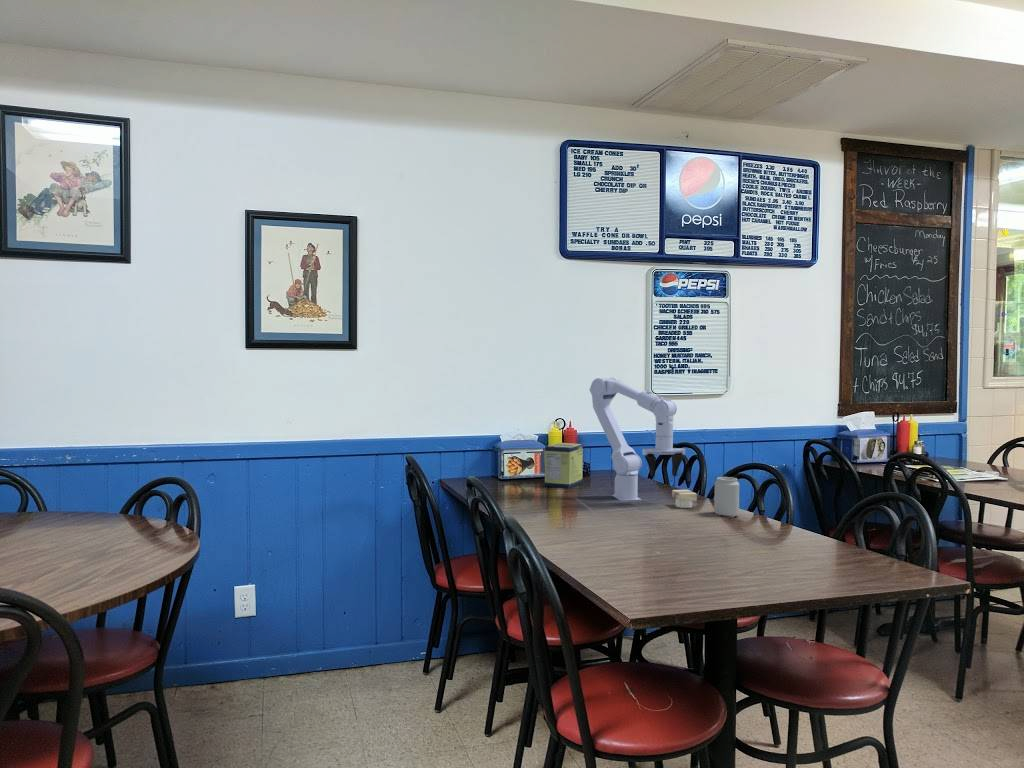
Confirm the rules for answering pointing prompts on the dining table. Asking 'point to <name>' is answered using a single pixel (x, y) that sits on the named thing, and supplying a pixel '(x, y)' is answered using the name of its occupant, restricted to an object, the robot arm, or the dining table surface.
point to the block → (684, 495)
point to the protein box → (563, 465)
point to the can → (726, 496)
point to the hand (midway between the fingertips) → (663, 476)
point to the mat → (648, 506)
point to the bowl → (683, 504)
